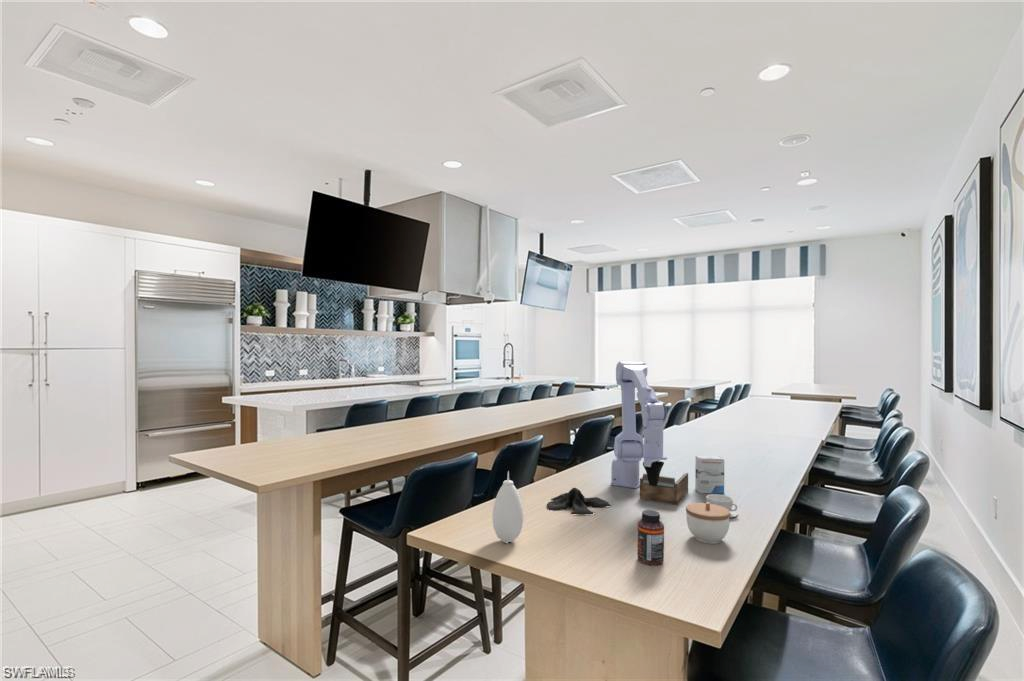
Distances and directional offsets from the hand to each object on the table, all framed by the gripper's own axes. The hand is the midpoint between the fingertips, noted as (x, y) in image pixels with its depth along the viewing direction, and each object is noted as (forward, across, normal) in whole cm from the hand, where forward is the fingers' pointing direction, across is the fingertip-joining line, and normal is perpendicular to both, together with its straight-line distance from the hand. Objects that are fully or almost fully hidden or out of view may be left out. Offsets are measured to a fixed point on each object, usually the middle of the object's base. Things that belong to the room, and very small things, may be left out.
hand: (653, 485), depth 156 cm
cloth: (+8, -11, +22) cm, 26 cm away
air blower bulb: (+7, -47, +24) cm, 53 cm away
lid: (+1, +14, 0) cm, 14 cm away
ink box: (+7, +27, -12) cm, 30 cm away
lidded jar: (+7, -18, -19) cm, 27 cm away
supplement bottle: (+7, -39, -10) cm, 41 cm away
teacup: (+7, +5, -18) cm, 20 cm away
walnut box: (+7, +14, 0) cm, 15 cm away
